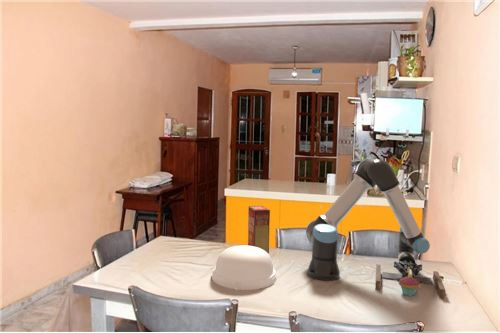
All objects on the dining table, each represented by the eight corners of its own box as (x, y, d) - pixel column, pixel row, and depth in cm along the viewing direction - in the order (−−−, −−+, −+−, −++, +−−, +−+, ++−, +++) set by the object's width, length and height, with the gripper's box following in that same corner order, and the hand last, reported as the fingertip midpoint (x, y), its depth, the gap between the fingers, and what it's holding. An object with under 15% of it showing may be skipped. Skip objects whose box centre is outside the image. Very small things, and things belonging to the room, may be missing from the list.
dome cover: (222, 264, 214) (222, 237, 213) (280, 269, 208) (281, 242, 207) (202, 287, 183) (203, 255, 181) (270, 294, 177) (271, 261, 175)
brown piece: (375, 289, 185) (375, 280, 184) (376, 272, 207) (376, 264, 207) (444, 299, 176) (445, 289, 176) (437, 279, 199) (438, 271, 199)
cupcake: (395, 289, 185) (397, 263, 184) (414, 290, 185) (416, 263, 184) (402, 297, 177) (404, 269, 176) (422, 297, 177) (424, 270, 176)
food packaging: (246, 248, 242) (248, 205, 240) (262, 247, 244) (263, 205, 242) (253, 255, 229) (254, 210, 227) (269, 254, 232) (271, 209, 229)
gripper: (420, 270, 205) (425, 287, 183) (392, 267, 209) (394, 283, 187) (421, 255, 205) (426, 270, 182) (393, 252, 209) (395, 266, 186)
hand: (410, 277), depth 185 cm, fingers closed
